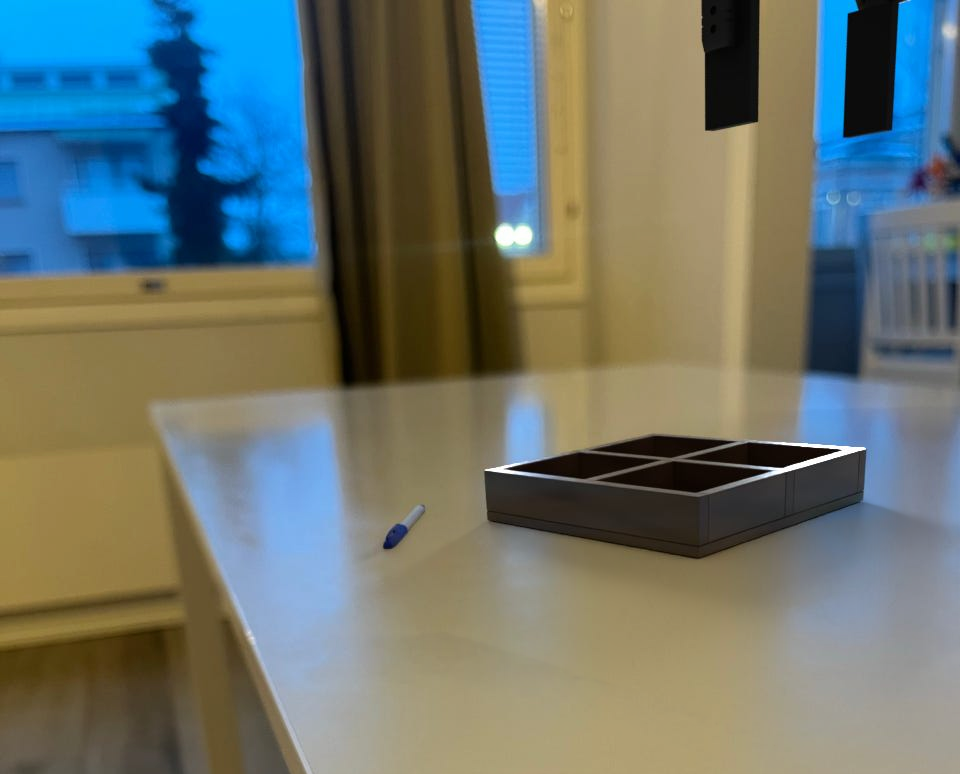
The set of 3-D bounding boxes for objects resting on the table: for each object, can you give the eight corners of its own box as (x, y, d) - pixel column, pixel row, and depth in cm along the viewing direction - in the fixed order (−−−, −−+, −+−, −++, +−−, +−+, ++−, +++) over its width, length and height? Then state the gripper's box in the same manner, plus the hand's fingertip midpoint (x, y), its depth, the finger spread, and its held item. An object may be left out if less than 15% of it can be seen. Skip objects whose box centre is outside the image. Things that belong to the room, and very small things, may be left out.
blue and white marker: (397, 552, 56) (395, 535, 56) (382, 553, 56) (380, 536, 56) (426, 512, 66) (425, 497, 65) (413, 513, 66) (412, 498, 66)
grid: (653, 476, 71) (653, 433, 70) (863, 500, 59) (866, 448, 58) (486, 520, 61) (483, 470, 60) (698, 558, 49) (698, 497, 48)
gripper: (874, -256, 58) (857, 146, 65) (582, -410, 43) (601, 135, 50) (1009, -321, 52) (974, 126, 59) (728, -523, 37) (726, 107, 44)
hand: (804, 131), depth 55 cm, fingers open, 13 cm apart
